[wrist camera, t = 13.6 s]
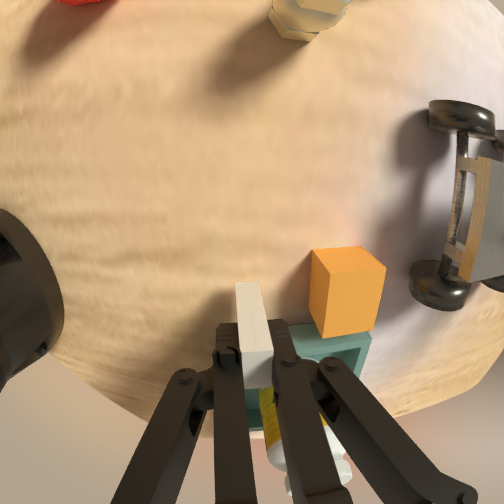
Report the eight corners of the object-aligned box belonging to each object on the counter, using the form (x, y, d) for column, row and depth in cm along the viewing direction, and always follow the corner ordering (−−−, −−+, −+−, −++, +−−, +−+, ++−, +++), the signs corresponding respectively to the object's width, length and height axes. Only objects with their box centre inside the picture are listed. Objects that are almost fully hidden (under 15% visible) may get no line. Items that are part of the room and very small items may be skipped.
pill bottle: (244, 367, 22) (258, 490, 12) (315, 341, 22) (362, 460, 11) (270, 403, 25) (288, 503, 14) (330, 382, 24) (367, 479, 14)
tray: (232, 410, 26) (233, 432, 23) (222, 330, 21) (222, 355, 18) (335, 397, 27) (343, 417, 24) (357, 316, 22) (372, 337, 19)
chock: (307, 307, 21) (322, 338, 18) (311, 248, 19) (330, 273, 16) (352, 301, 22) (372, 329, 18) (360, 245, 20) (386, 268, 16)
